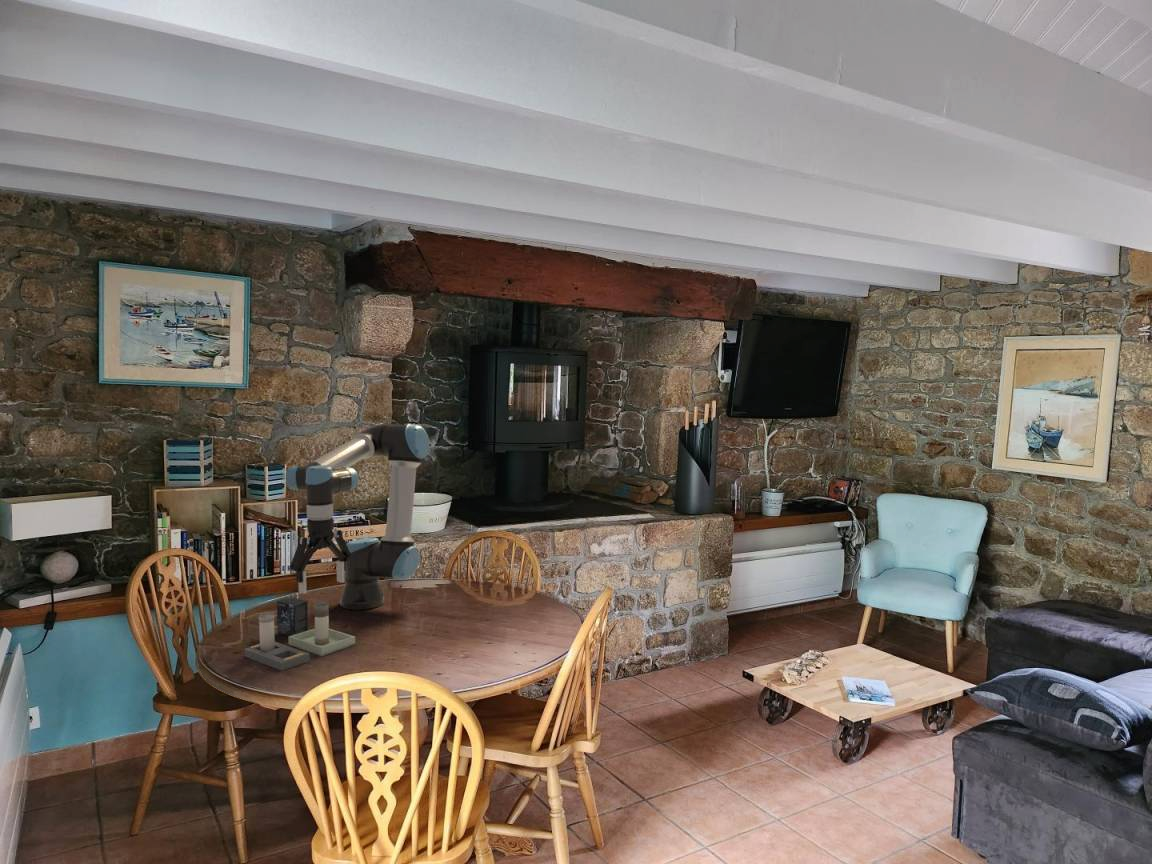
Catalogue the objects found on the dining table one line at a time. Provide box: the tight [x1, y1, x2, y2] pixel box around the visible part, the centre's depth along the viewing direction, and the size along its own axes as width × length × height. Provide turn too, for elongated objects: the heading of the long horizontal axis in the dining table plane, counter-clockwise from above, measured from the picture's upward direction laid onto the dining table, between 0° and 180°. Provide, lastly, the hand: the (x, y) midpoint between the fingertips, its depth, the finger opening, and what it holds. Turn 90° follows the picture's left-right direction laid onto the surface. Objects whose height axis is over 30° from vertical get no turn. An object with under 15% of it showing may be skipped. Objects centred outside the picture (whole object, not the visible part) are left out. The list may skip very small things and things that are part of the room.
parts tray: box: [287, 628, 356, 657], centre depth 234 cm, size 16×12×2 cm
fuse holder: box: [243, 641, 311, 672], centre depth 222 cm, size 18×9×2 cm, turn 55°
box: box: [276, 596, 309, 637], centre depth 244 cm, size 8×6×11 cm
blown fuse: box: [313, 601, 330, 645], centre depth 234 cm, size 4×4×12 cm
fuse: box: [258, 612, 276, 652], centre depth 224 cm, size 4×4×12 cm
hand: (322, 587), depth 233 cm, fingers open, 13 cm apart
